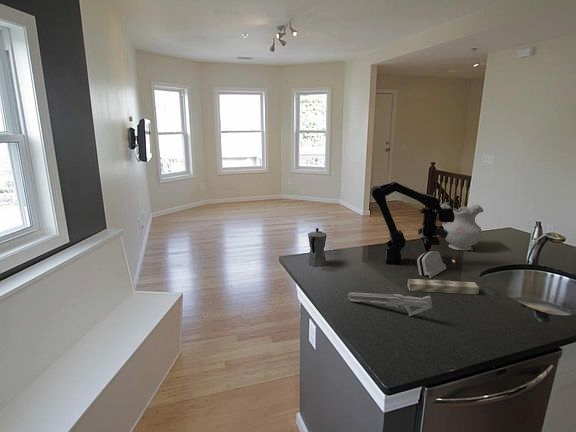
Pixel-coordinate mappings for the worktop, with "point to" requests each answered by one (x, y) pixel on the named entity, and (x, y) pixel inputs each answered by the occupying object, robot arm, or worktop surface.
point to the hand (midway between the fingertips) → (426, 253)
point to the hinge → (430, 263)
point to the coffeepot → (317, 248)
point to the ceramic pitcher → (463, 227)
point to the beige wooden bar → (443, 286)
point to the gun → (395, 301)
